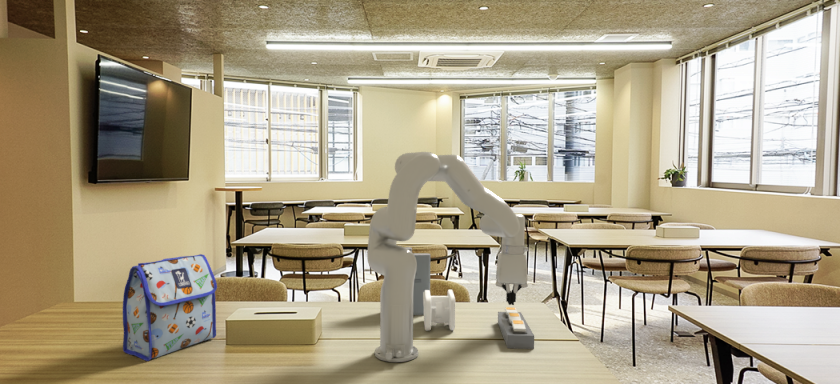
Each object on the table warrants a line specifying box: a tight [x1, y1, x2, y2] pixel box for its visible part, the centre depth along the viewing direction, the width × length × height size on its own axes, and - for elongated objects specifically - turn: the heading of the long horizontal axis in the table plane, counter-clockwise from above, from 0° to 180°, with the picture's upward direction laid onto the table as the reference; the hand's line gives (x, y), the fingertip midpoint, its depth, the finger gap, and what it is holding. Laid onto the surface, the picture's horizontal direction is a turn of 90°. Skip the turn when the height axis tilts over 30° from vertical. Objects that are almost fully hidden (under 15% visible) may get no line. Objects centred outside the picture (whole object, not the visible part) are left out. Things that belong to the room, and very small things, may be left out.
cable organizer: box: [423, 289, 456, 332], centre depth 167 cm, size 15×11×12 cm
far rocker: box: [504, 306, 519, 315], centre depth 167 cm, size 5×4×1 cm
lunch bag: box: [122, 253, 218, 362], centre depth 145 cm, size 23×17×27 cm
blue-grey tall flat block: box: [405, 246, 431, 316], centre depth 182 cm, size 17×5×25 cm, turn 89°
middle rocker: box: [508, 313, 521, 323], centre depth 159 cm, size 5×4×1 cm
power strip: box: [497, 311, 535, 350], centre depth 164 cm, size 34×8×5 cm, turn 177°
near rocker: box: [512, 320, 526, 332], centre depth 151 cm, size 5×4×1 cm
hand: (510, 303), depth 165 cm, fingers closed
